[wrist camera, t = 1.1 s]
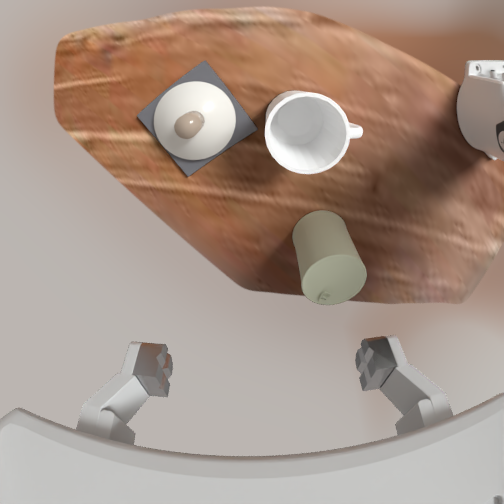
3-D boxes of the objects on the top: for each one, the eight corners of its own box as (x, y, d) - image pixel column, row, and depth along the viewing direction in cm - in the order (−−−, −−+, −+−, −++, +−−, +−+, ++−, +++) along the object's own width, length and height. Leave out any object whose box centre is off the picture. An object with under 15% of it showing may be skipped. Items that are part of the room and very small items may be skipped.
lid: (203, 65, 29) (195, 64, 25) (252, 128, 34) (252, 136, 30) (141, 115, 33) (126, 122, 29) (188, 172, 38) (180, 185, 34)
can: (283, 248, 47) (290, 300, 37) (306, 202, 42) (321, 248, 32) (330, 262, 49) (345, 313, 39) (355, 220, 44) (380, 267, 34)
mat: (205, 60, 29) (204, 60, 29) (257, 128, 35) (257, 129, 35) (138, 114, 33) (136, 115, 33) (189, 174, 39) (188, 176, 39)
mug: (264, 150, 37) (267, 176, 29) (259, 88, 32) (261, 93, 24) (341, 148, 36) (365, 173, 28) (341, 88, 31) (369, 95, 23)
